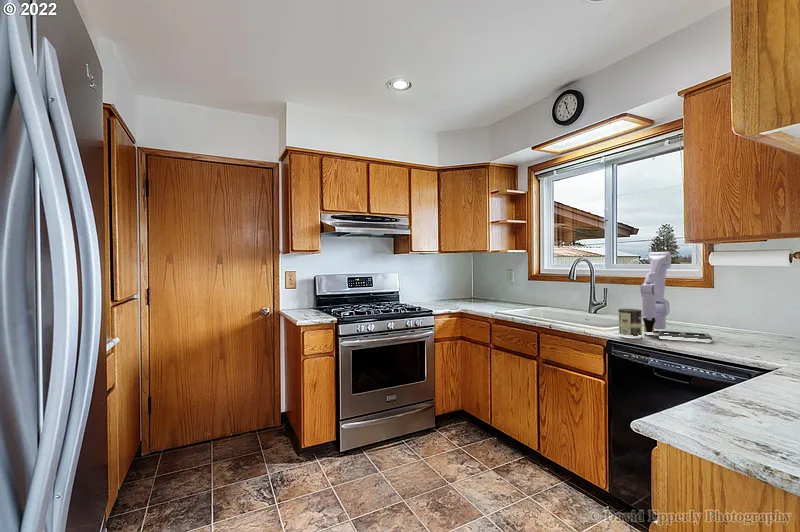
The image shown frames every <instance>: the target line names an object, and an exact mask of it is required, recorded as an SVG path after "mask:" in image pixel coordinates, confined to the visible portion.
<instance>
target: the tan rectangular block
mask: <svg viewBox="0 0 800 532" xmlns="http://www.w3.org/2000/svg"><path fill="white" fill-rule="evenodd" d="M644 332H647V331H646V326H645V323H644V322H643V333H644ZM652 332H654V325H653V330H652ZM654 333H655V332H654Z"/></svg>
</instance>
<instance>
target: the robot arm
mask: <svg viewBox="0 0 800 532" xmlns="http://www.w3.org/2000/svg"><path fill="white" fill-rule="evenodd" d="M647 259H648V263H649V264H650V267H649V272H647V273H646V275H645V278H644V282H643V283H641V285H640V288H639V289H640V294H641V295H640V296H641V298H642V301H641V302H642V304H641V305H642V313H641V317H642V321H643V324H644V323H645V326H646V331H647V332H652V330H653V325H654V328H655V329H665V328H666V329H667V316H668V315H669V314H670V310H671V309H670V302H669V300H668V299H666V298H665V290H666V289H665V287H666V279H667V276H666V275H667V270H668V269H669V268H671V265H672V254H671V252H670V251H655V252H654V251H653V252H652V251H651V252H649V253H648V256H647Z"/></svg>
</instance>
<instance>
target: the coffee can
mask: <svg viewBox="0 0 800 532" xmlns="http://www.w3.org/2000/svg"><path fill="white" fill-rule="evenodd" d="M642 313H643V309H642V310H641V309H638V308H637V309H636V308H618V334H619V333H620V334H623V335H633V336H638V335H642V336H643V332H642V330H643V328H642V327H643V326H642V321H643V316H641V314H642Z"/></svg>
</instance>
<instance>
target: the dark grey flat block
mask: <svg viewBox="0 0 800 532" xmlns="http://www.w3.org/2000/svg"><path fill="white" fill-rule="evenodd" d="M664 333H669V334H664ZM658 334H659V336H672V337H684V338H698V339H710V340H712V341H713V336H712V335H711V334H709V333H703V332H689V331H688V332H686V331H673V330H672V331H671V330H667V331H658V332H657V335H658ZM679 334H680V335H679ZM694 335H699V336H694Z"/></svg>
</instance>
